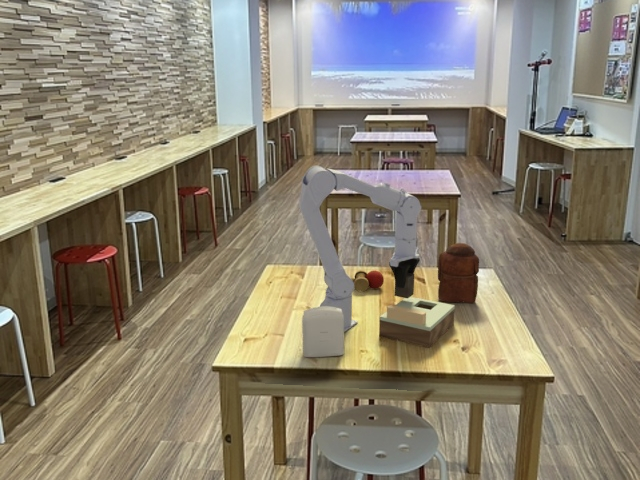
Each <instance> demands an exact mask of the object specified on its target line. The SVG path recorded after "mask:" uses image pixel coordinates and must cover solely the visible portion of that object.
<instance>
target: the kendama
mask: <svg viewBox="0 0 640 480" xmlns="http://www.w3.org/2000/svg"><path fill="white" fill-rule="evenodd" d="M350 278H351V277H350ZM351 279H352V280H353V282H354V290H356V291H358V292H365V291H367V290H368V289H369V288H370V289H372V290H377V289H380V288H381V287H382V286H383V284H384V279H385V278H384V276H383V274H382V272H380V271H378V270H371V271H369V272H367V271H365V270H363V269H362V270H361V269H360V270H357V271H356V272H355V274H354V278H351Z"/></svg>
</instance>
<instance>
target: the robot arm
mask: <svg viewBox="0 0 640 480" xmlns="http://www.w3.org/2000/svg"><path fill="white" fill-rule="evenodd" d="M343 189H347V190H350V191H352V192H355V193H358V194H361V195H364V196H367V197H369V199H370V200H371V203H372V204H374V205H376V206H378V207H379V206H380V207H382V208H385V209H387V210H390V211H391V212H396V213H395V214H396V216H395V217H396V218H395V231H394V232H395V233H394V234H395V237H394V252H393V253H392V256H391V258H390V259H389V264H388V265H389V267H390V269H391V272H392V274H393V277H394V284H395V283H396V287H399V288H404V286H405V282H406V276H407V273H412V274H414V275H415V270H416V269H417V266H418V264H419V263H420V260H421V259H420V254H419V253H420V248H419V247H418V246H417V234H418V233H417V230H418V216H419V214H420V213H421V211H422V205H421V202H420V200H419V199H418V198H417V197H416V196H414V195H412V194H410V193H408V192H406V190H404V189H398V188H397V189H396V188H395V187H392V186H391V184H390V183H388V182H384V183H382V182H379V183H377V184H371V183H369V182H368V183H367V182H366V181H363V180H362V179H359V178H356V177H354V176H353V175H349V174H347V173H344V172H342V171H338V170H335V169H331V168H327V167H326V169H325V167H322V166H320V165H313V166H311V167H309V168H308V169H307V171H306V172H305V173H304V174H303V177H302V179H301V189H300V194H299V201H298V208H299V211H300V212H301V216H302V218H303V220H304V223H305V225H306V227H307V230H308V232H309V235H310V237H311V239H312V243H313V245H314V247H315V249H316V252H317V255H318V257H319V260H320V262H321V265H322V269H323V273H324V276H323V280H324V283H325V285H326V286H327V288H326V290H325V295H324V299H323V301H322V302H321V303H320V305H319V307H324V306H327V307H335V308H339V309H341V310H342V313H343V316H344V333H345V332H346V331H348V330H350V329H351V328H352V327H353V326H355V325H356V324H358V320H354V319H353V318H352V316H353V315H352V313H353V312H352V311H353V302H352V301H353V298H352V297H353V292H354V290H355V287H354V282H353V280H352V279H351V277H350V276H349V275H348V274H347V272H346V270H345V267H344V266H343V263H342V262H341V261H340V257H339V255H338V252H337V250H336V248H335V245H334V243H333V239H332V237H331V235H330V232H329V230H328V227H327V225H326V223H325V220H324V218H323V214H322V212H321V210H320V207H321V206H322V204H323V202H324V200H325V199H326V198H327V197H328V196H329V195H330V194H331V193H332V192H333V191H334V190H335V191H336V192H338V191H341V190H343Z"/></svg>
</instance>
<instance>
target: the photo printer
mask: <svg viewBox="0 0 640 480" xmlns="http://www.w3.org/2000/svg"><path fill="white" fill-rule="evenodd" d="M301 323H302V326H301V328H302V329H301V330H302V332H301V333H302V356H304V358H321V357H322V358H323V357H324V358H325V357H336V356H343V355H344V354H345V332H344V316H343V313H342V310H341V309H339V308H335V307H327V306H324V307H320V306H316V307H312V308H308V309H306V310H304V311H303V315H302V320H301Z"/></svg>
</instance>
